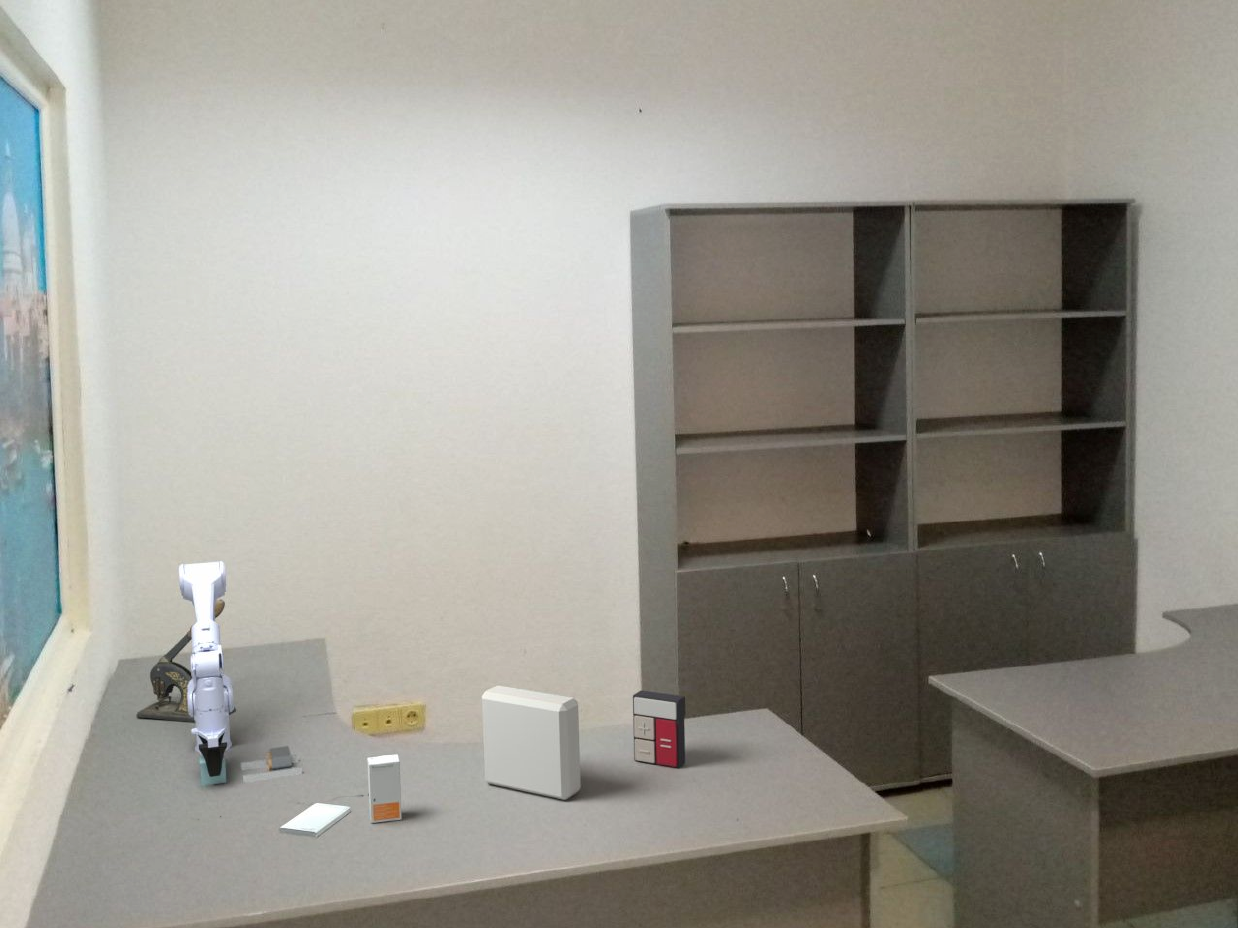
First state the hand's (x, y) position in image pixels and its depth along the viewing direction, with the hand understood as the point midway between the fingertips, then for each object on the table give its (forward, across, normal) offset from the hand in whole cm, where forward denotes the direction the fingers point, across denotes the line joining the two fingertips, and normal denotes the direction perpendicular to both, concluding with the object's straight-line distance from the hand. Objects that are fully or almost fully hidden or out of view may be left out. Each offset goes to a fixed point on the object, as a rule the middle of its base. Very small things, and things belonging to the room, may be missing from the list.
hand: (214, 769), depth 250 cm
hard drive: (+4, +28, +18) cm, 33 cm away
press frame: (+3, 0, +6) cm, 7 cm away
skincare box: (+4, +32, +30) cm, 44 cm away
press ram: (+2, 0, +14) cm, 14 cm away
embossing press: (+4, -52, -4) cm, 52 cm away
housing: (+2, 0, 0) cm, 2 cm away
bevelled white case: (+4, +29, +62) cm, 68 cm away
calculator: (+4, +27, +90) cm, 95 cm away
